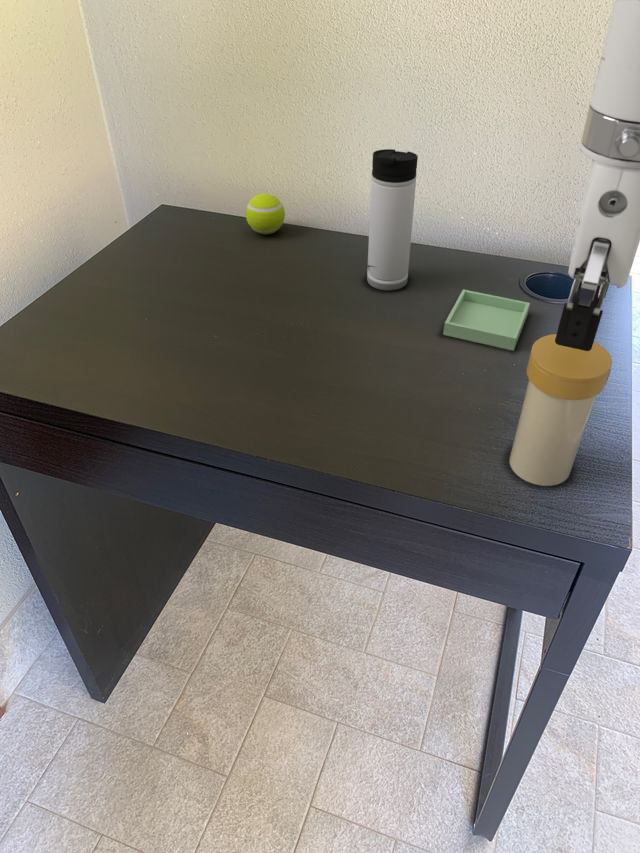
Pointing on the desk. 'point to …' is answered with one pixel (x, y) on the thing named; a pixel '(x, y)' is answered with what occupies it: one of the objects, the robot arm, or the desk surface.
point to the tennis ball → (265, 213)
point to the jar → (548, 436)
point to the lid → (568, 369)
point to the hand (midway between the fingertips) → (580, 319)
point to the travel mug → (391, 218)
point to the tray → (487, 319)
